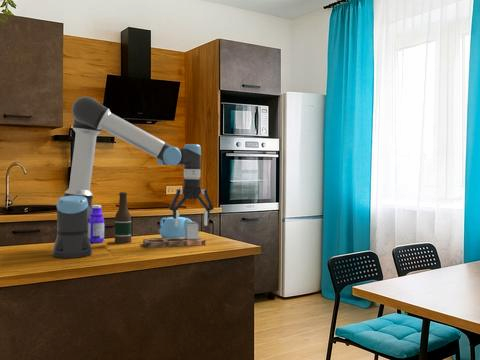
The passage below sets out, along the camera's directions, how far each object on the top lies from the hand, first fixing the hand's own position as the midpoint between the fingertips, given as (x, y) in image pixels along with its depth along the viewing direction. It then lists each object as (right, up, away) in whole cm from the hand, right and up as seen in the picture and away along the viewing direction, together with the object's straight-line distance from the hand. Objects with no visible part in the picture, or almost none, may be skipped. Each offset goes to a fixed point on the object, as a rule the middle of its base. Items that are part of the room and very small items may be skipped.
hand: (191, 225), depth 218 cm
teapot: (-8, -9, +21) cm, 24 cm away
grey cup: (0, -8, 0) cm, 8 cm away
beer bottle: (-31, -9, +2) cm, 33 cm away
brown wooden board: (-7, -9, -2) cm, 12 cm away
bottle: (-45, -9, +8) cm, 47 cm away
